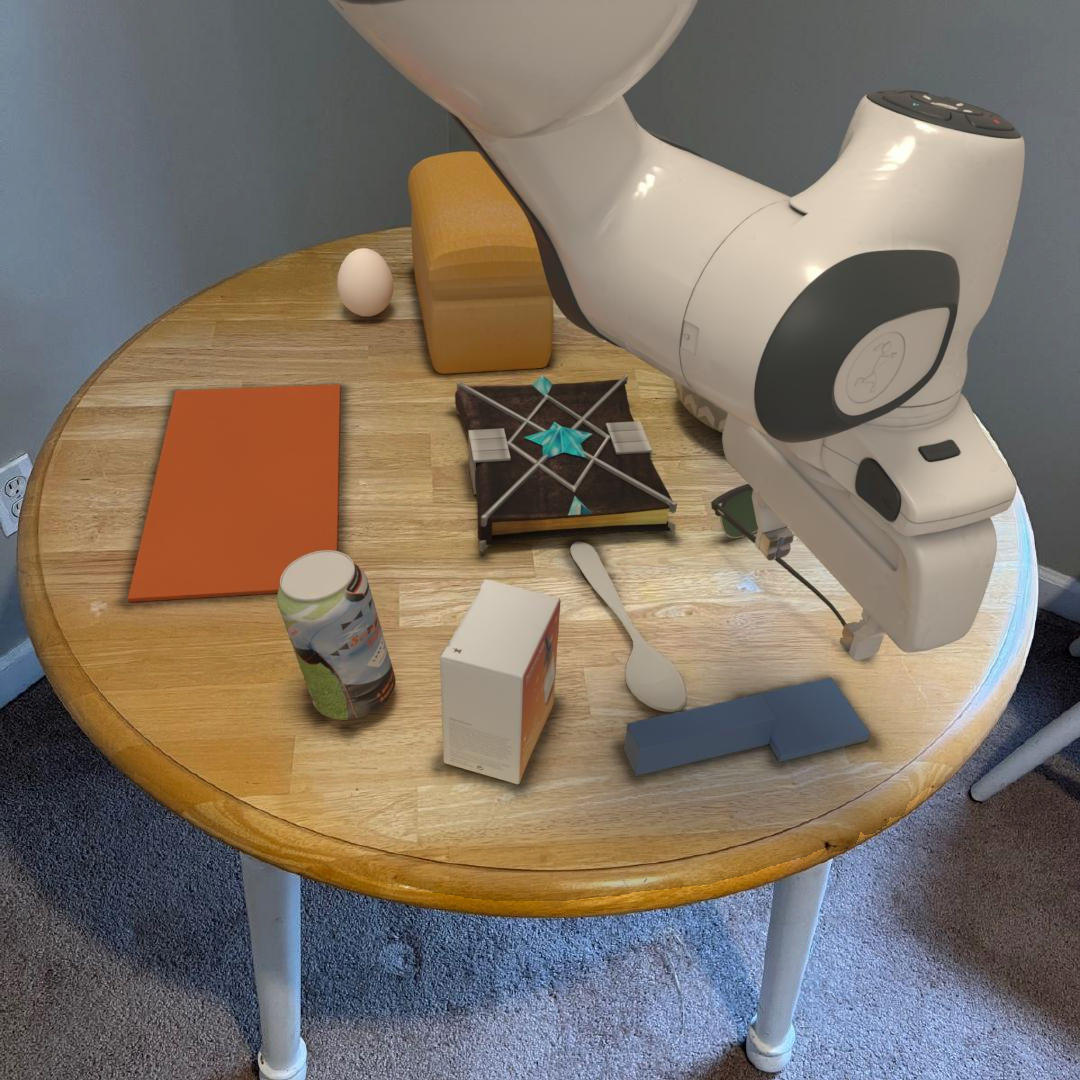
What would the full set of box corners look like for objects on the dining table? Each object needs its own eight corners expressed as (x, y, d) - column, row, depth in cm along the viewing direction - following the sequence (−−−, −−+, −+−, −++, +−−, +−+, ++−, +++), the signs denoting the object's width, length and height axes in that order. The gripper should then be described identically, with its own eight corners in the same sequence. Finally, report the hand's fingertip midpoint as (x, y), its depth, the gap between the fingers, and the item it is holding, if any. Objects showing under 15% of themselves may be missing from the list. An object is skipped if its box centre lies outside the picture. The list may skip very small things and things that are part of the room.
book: (455, 413, 107) (454, 368, 104) (623, 404, 109) (627, 360, 106) (478, 553, 90) (478, 505, 87) (676, 540, 93) (683, 492, 89)
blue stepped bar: (644, 795, 73) (648, 768, 71) (615, 732, 77) (618, 705, 75) (868, 741, 77) (877, 714, 75) (829, 683, 81) (837, 657, 79)
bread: (554, 368, 114) (561, 232, 104) (430, 376, 112) (426, 238, 102) (517, 263, 132) (520, 139, 123) (410, 268, 130) (405, 142, 121)
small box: (519, 788, 73) (522, 680, 66) (441, 764, 74) (437, 656, 67) (556, 702, 79) (563, 596, 72) (483, 682, 80) (484, 575, 73)
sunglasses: (832, 672, 82) (847, 625, 79) (700, 542, 93) (708, 496, 90) (988, 603, 88) (1007, 557, 85) (847, 489, 100) (860, 444, 96)
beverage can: (391, 732, 76) (381, 607, 68) (285, 728, 76) (263, 603, 68) (401, 666, 81) (392, 542, 73) (301, 662, 81) (282, 538, 73)
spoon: (646, 731, 77) (648, 715, 76) (553, 547, 92) (554, 532, 91) (699, 718, 78) (702, 703, 77) (600, 539, 93) (601, 524, 92)
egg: (335, 304, 123) (329, 240, 118) (389, 298, 124) (385, 235, 119) (345, 330, 118) (339, 265, 114) (400, 323, 120) (396, 259, 115)
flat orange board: (336, 589, 87) (336, 585, 87) (128, 602, 85) (127, 598, 85) (340, 387, 110) (340, 384, 109) (176, 393, 108) (175, 390, 108)
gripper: (715, 327, 65) (686, 511, 73) (937, 534, 50) (867, 731, 59) (805, 311, 67) (766, 491, 75) (1043, 505, 52) (960, 700, 61)
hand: (812, 599), depth 67 cm, fingers open, 8 cm apart
